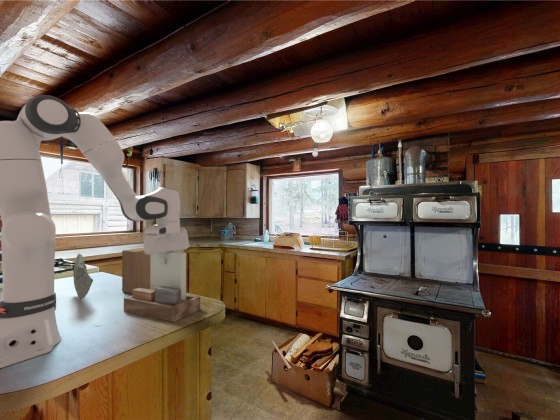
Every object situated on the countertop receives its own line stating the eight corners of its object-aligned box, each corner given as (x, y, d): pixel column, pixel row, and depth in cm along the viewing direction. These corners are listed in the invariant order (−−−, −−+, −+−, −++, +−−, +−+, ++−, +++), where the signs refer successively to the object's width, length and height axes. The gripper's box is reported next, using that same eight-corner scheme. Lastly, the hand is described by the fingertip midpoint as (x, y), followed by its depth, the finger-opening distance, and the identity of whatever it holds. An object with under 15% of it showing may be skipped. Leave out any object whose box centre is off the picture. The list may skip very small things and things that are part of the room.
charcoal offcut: (175, 318, 100) (175, 291, 101) (154, 314, 105) (154, 287, 105) (181, 315, 103) (181, 288, 103) (161, 312, 107) (161, 286, 107)
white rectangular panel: (180, 306, 107) (180, 253, 107) (150, 300, 114) (150, 251, 114) (185, 303, 110) (186, 252, 110) (156, 298, 116) (156, 250, 116)
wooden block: (121, 292, 134) (121, 250, 134) (140, 286, 143) (140, 247, 143) (135, 294, 129) (135, 251, 129) (153, 289, 138) (153, 249, 138)
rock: (94, 305, 114) (94, 256, 114) (75, 309, 110) (75, 258, 110) (84, 291, 134) (84, 250, 134) (68, 294, 130) (68, 251, 130)
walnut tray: (174, 321, 98) (174, 307, 98) (123, 311, 108) (123, 298, 108) (200, 309, 110) (200, 296, 110) (152, 300, 121) (152, 289, 121)
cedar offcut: (150, 313, 105) (150, 292, 105) (132, 310, 109) (132, 289, 109) (157, 311, 108) (157, 290, 108) (139, 307, 112) (139, 287, 112)
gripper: (181, 227, 123) (180, 258, 123) (141, 229, 104) (140, 266, 104) (192, 227, 120) (192, 259, 120) (153, 230, 101) (153, 268, 101)
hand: (168, 263), depth 112 cm, fingers closed on white rectangular panel, 3 cm apart
